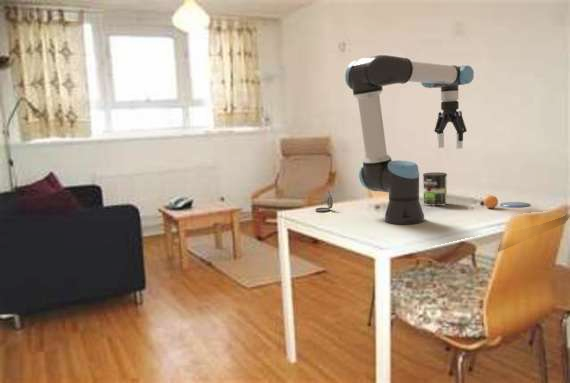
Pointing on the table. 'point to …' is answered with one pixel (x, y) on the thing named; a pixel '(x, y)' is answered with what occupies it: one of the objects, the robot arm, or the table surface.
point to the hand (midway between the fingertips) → (449, 148)
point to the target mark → (515, 204)
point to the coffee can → (435, 188)
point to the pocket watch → (329, 203)
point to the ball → (490, 201)
